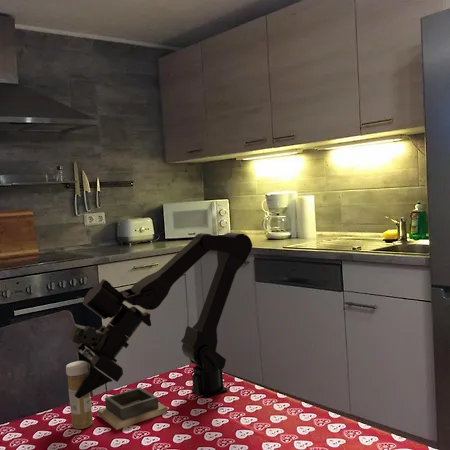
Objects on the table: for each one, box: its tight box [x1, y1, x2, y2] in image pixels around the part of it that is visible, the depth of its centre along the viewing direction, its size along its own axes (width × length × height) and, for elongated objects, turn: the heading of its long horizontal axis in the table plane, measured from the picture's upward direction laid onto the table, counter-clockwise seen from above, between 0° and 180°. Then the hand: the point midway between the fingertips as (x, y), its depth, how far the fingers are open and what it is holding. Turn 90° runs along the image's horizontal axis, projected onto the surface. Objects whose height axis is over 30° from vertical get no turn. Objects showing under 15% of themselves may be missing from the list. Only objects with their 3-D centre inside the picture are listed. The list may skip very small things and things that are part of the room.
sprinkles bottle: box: [65, 361, 94, 430], centre depth 116 cm, size 5×5×14 cm
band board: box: [97, 386, 168, 431], centre depth 121 cm, size 12×10×4 cm
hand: (72, 391), depth 116 cm, fingers open, 7 cm apart
